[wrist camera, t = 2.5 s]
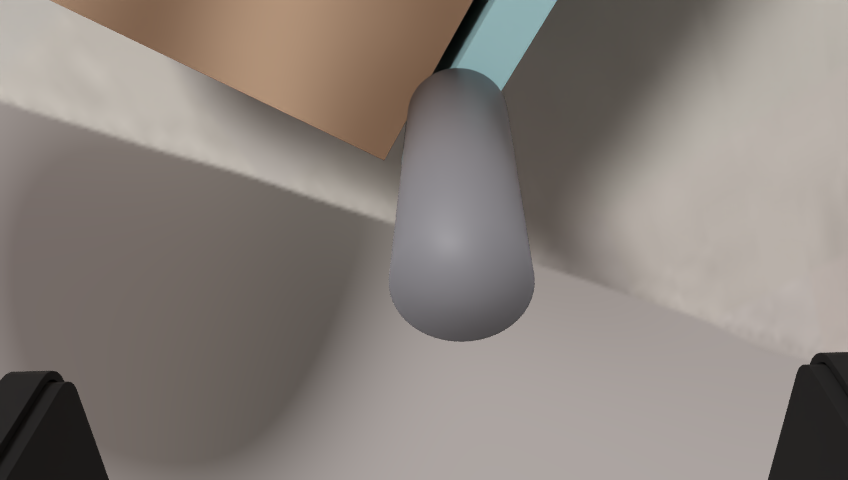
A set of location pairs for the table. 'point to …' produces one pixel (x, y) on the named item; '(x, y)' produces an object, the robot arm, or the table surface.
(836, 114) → the table surface
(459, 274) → the door
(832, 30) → the table surface
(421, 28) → the cabinet
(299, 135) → the table surface
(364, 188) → the table surface
